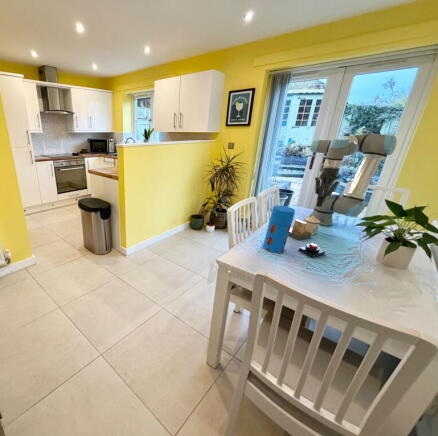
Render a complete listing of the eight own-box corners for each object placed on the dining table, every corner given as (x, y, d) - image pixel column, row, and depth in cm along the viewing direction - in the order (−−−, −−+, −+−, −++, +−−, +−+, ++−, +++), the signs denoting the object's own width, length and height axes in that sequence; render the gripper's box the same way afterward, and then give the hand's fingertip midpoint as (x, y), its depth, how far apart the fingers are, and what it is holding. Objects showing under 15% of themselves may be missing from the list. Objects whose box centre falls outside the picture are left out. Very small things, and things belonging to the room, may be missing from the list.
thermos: (259, 246, 135) (268, 206, 125) (270, 242, 140) (280, 204, 130) (276, 254, 126) (288, 213, 117) (287, 250, 131) (299, 210, 122)
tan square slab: (292, 229, 152) (295, 219, 149) (294, 229, 152) (297, 219, 150) (301, 233, 146) (305, 223, 143) (304, 233, 146) (307, 223, 143)
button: (312, 245, 130) (313, 242, 130) (318, 248, 127) (319, 245, 126) (307, 246, 129) (308, 243, 128) (313, 249, 126) (314, 246, 125)
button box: (310, 248, 135) (312, 242, 133) (324, 255, 128) (326, 248, 126) (298, 250, 131) (300, 244, 130) (311, 258, 124) (314, 251, 123)
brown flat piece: (295, 230, 157) (296, 226, 156) (311, 237, 147) (312, 233, 146) (282, 233, 153) (284, 228, 152) (298, 240, 143) (299, 236, 142)
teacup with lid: (315, 236, 150) (321, 220, 145) (299, 232, 155) (304, 216, 150) (317, 230, 158) (322, 215, 154) (301, 226, 163) (306, 211, 159)
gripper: (315, 165, 132) (304, 203, 142) (339, 169, 121) (325, 210, 131) (324, 164, 135) (312, 202, 144) (348, 168, 124) (334, 208, 133)
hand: (318, 206), depth 137 cm, fingers closed
